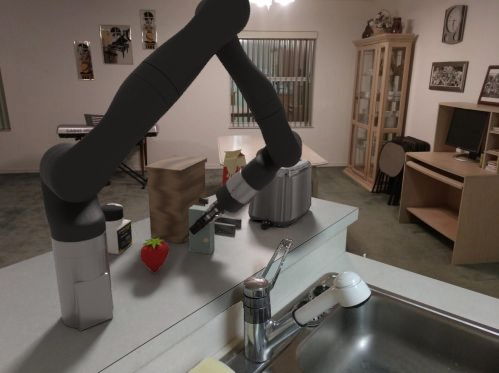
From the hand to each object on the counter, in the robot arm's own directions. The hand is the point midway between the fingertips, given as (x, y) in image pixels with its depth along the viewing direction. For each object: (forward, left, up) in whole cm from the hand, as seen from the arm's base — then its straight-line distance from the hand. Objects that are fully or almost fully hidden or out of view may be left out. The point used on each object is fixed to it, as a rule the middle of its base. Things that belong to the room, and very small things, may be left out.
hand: (194, 229), depth 100 cm
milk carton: (+26, -36, -6) cm, 44 cm away
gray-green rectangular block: (-2, -1, -6) cm, 6 cm away
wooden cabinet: (+9, -7, -6) cm, 13 cm away
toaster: (+3, -37, -6) cm, 37 cm away
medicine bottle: (+15, +16, -6) cm, 23 cm away
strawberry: (-4, +14, -6) cm, 16 cm away
